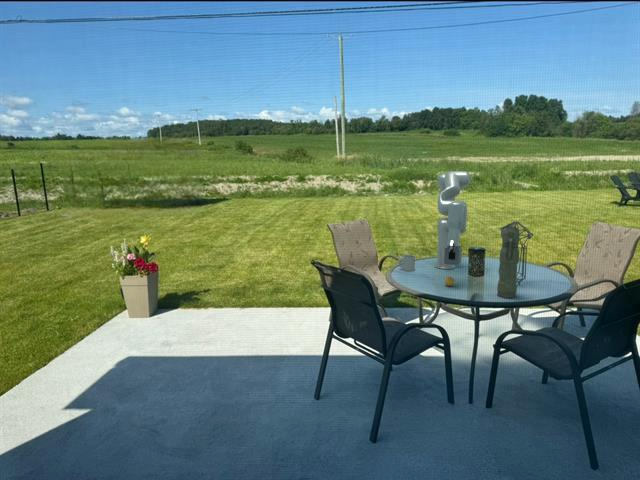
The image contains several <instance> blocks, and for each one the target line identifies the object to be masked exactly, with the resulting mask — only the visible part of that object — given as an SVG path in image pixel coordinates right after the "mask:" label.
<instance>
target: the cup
mask: <svg viewBox="0 0 640 480" xmlns="http://www.w3.org/2000/svg"><path fill="white" fill-rule="evenodd" d="M398 266H399V268H402V271H405V272H415V267H416V255H414V254H413V255H412V254H404V255H403V256H402V257H400V258H399V259H398Z"/></svg>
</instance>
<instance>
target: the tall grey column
mask: <svg viewBox="0 0 640 480" xmlns="http://www.w3.org/2000/svg"><path fill="white" fill-rule="evenodd" d="M519 230H520V229H519ZM519 230H518V228H517V226H516V227H514V226H512V227H505V228H504V231H503V238H502V237H501V239H502V245H501V248H500V251H499V266H500V275H499V274H498V275H499V277H498V278H499V279H498V283H497V288H496V290H497V293H496V294H497V295H496V296H498V297H499V298H502V299H515V298H516V297H517V290H518V289H517V288H518V284H517V282H516V281H517V279H516V276H517V277H518V275H517V274H518V273H517V272H518V265H519V263H520V247H519V245H520V244H519V243H520V241H519V238H520V236H519V235H521V234H519V233H520V231H519ZM518 247H519V248H518Z"/></svg>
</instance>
